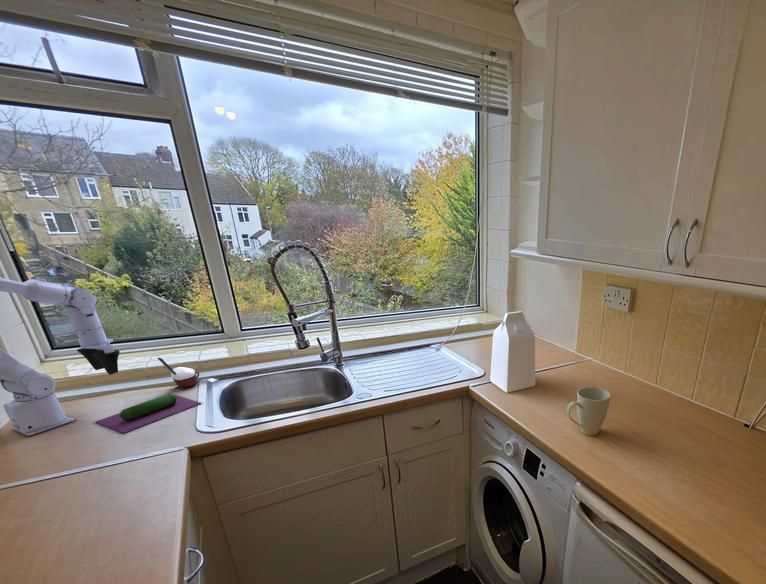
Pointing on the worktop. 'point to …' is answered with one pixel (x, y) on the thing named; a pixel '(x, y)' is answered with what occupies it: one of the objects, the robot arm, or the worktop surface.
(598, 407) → the mug
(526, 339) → the milk
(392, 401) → the worktop surface
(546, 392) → the worktop surface
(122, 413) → the cucumber
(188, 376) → the cocoa
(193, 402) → the towel
